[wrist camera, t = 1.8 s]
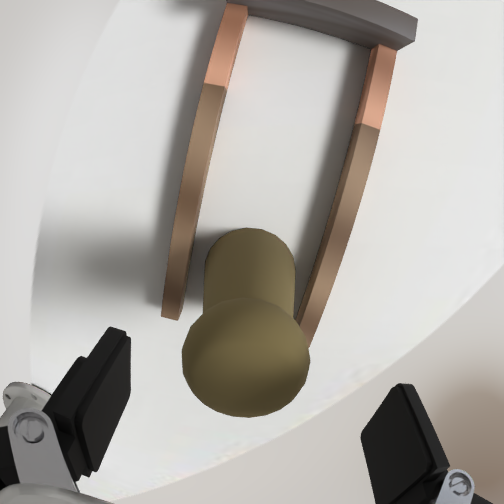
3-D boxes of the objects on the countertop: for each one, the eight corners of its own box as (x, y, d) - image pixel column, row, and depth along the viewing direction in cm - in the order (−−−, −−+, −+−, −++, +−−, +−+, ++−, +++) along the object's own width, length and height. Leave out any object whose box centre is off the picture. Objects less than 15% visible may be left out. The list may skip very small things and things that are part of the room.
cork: (188, 284, 22) (140, 398, 11) (234, 209, 20) (210, 287, 10) (263, 325, 23) (266, 451, 12) (313, 258, 21) (360, 366, 11)
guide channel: (306, 335, 23) (314, 370, 19) (166, 305, 22) (150, 336, 18) (391, 36, 16) (417, 18, 12) (235, -8, 15) (230, -37, 11)
